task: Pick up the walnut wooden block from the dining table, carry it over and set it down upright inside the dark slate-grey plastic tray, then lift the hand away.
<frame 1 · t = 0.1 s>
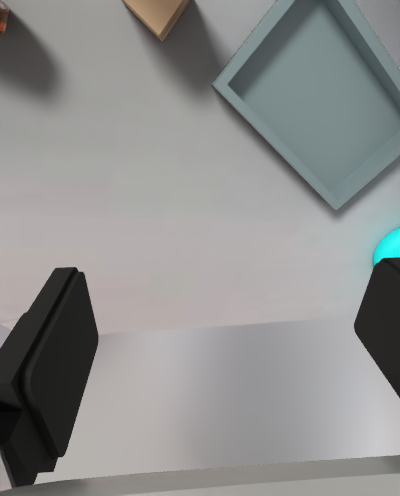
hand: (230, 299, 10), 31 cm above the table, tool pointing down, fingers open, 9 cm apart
tray: (318, 103, 36), on the table
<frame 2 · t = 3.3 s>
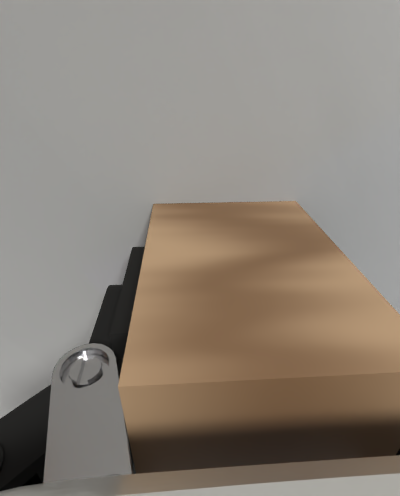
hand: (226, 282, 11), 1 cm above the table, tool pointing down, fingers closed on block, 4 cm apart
block: (222, 262, 12), on the table, touching gripper
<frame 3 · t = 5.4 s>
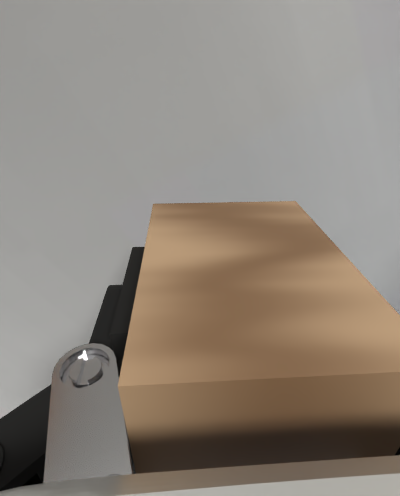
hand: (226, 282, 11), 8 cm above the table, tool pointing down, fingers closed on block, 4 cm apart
block: (222, 262, 12), point 6 cm above the table, touching gripper
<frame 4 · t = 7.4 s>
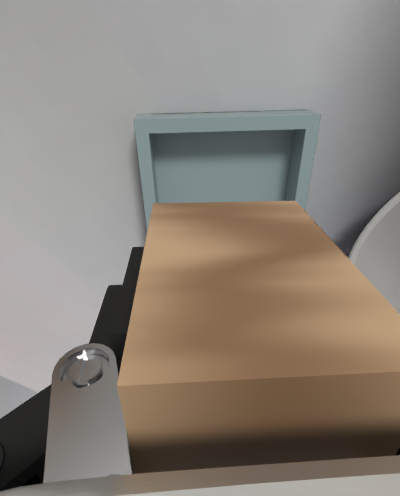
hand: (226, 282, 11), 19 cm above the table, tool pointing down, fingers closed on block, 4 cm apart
block: (222, 262, 12), point 17 cm above the table, touching gripper
tray: (220, 229, 31), on the table
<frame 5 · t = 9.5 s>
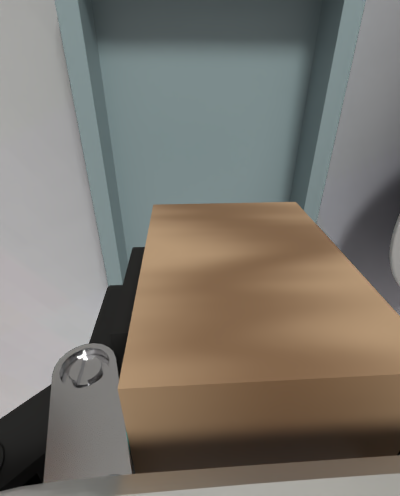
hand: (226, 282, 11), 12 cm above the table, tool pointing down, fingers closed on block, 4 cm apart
block: (222, 263, 12), point 11 cm above the table, touching gripper
tray: (205, 175, 21), on the table
when the fingers open (3 cm above the table, at t = 11.4 s): block drops 1 cm, resting on tray.
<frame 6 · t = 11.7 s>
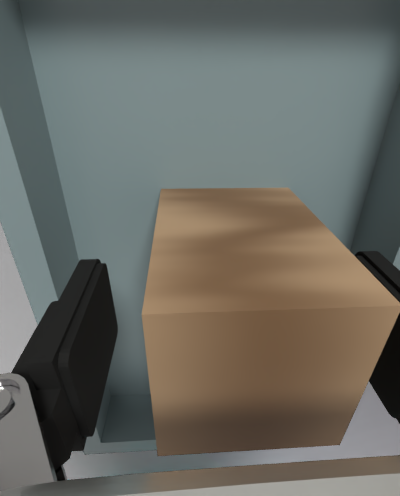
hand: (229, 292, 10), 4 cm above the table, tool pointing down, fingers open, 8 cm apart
block: (222, 244, 13), point 1 cm above the table, touching tray
tray: (216, 238, 13), on the table
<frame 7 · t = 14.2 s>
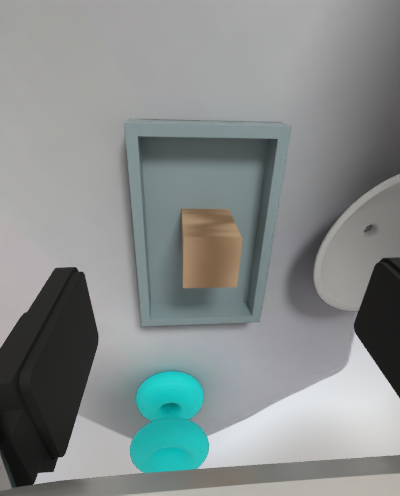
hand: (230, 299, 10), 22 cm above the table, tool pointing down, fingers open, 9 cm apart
donuts: (170, 388, 46), on the table
block: (204, 230, 33), point 1 cm above the table, touching tray
tray: (202, 228, 33), on the table
dish: (365, 226, 35), on the table
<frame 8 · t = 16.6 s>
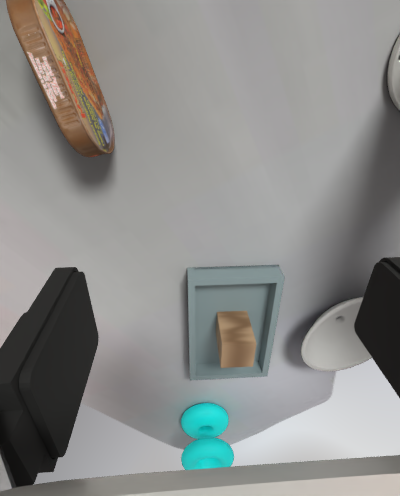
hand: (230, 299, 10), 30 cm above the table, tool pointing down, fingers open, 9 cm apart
donuts: (204, 413, 65), on the table
block: (231, 322, 51), point 1 cm above the table, touching tray
tray: (229, 320, 51), on the table
tin: (81, 77, 33), on the table
dish: (337, 314, 53), on the table
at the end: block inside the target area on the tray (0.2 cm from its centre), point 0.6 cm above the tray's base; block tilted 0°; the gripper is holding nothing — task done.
